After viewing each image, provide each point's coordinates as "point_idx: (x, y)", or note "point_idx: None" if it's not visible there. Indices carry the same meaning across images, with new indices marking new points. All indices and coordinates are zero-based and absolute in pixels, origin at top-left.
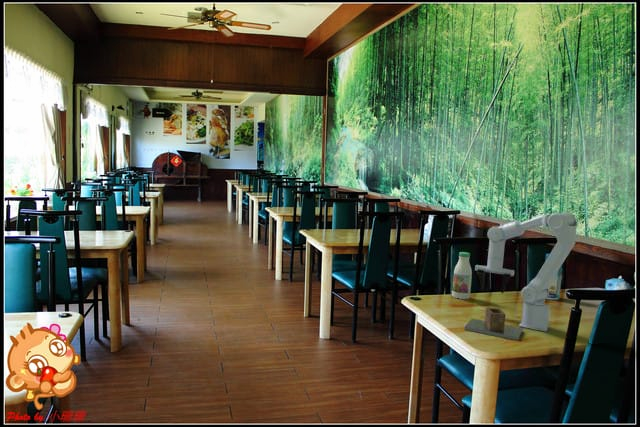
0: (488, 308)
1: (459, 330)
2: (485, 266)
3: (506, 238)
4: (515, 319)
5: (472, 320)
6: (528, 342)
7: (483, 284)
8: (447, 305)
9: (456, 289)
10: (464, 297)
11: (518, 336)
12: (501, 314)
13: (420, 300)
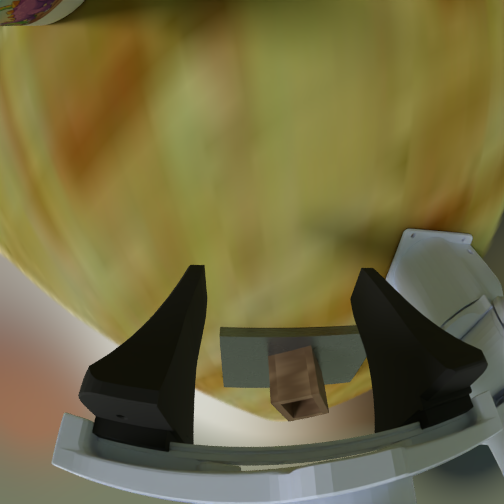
0: (279, 405)
1: (215, 384)
2: (157, 490)
3: None
4: (385, 209)
5: (227, 350)
6: (368, 370)
7: (198, 316)
8: (59, 182)
9: (13, 25)
10: (77, 2)
11: (351, 379)
12: (317, 413)
13: None
